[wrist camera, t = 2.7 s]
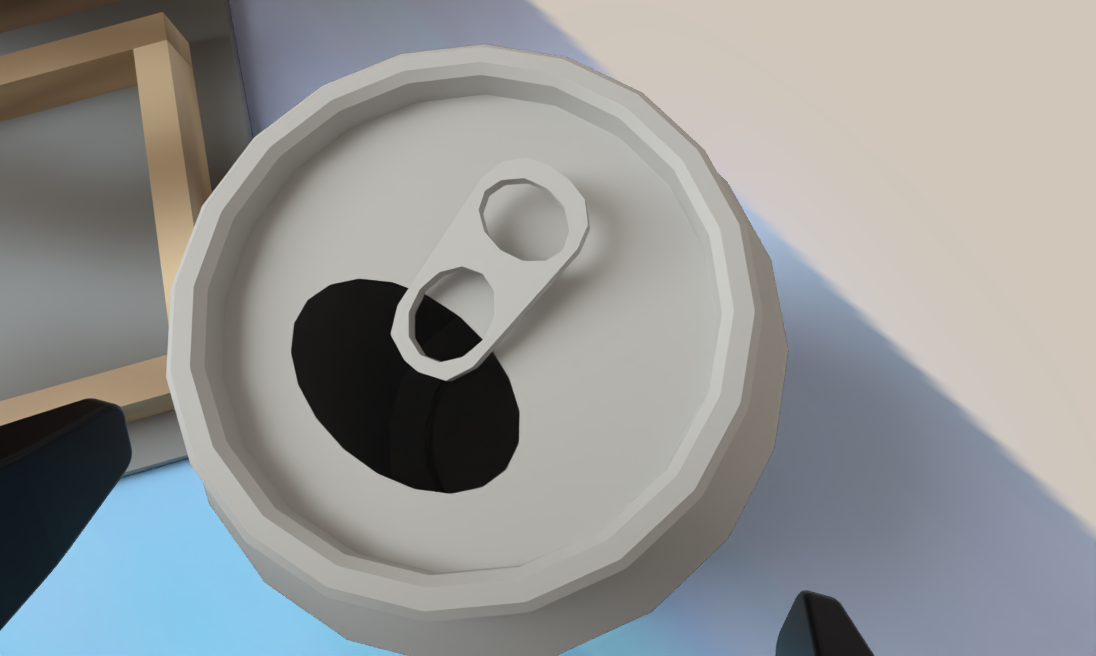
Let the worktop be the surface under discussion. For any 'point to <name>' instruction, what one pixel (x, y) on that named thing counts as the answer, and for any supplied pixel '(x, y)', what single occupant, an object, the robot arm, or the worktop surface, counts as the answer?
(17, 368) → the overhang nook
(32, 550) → the robot arm
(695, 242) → the can
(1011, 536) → the worktop surface
